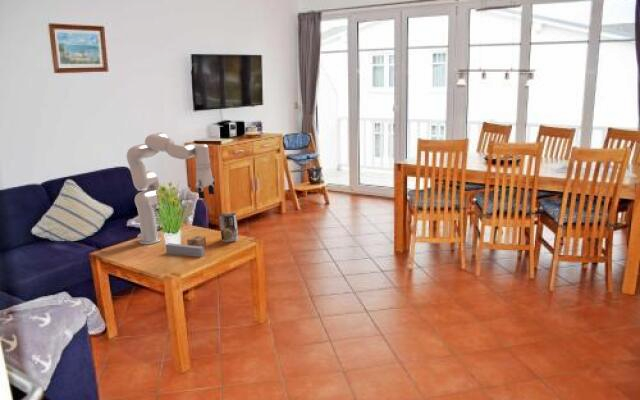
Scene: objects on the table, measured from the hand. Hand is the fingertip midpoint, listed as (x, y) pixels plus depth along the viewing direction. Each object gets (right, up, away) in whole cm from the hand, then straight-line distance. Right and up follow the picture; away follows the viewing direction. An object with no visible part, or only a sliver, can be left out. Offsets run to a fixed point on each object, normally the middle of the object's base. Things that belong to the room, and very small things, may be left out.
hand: (206, 196), depth 307 cm
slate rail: (-12, -33, -1) cm, 35 cm away
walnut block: (-7, -30, +9) cm, 33 cm away
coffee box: (+10, -27, +20) cm, 35 cm away
